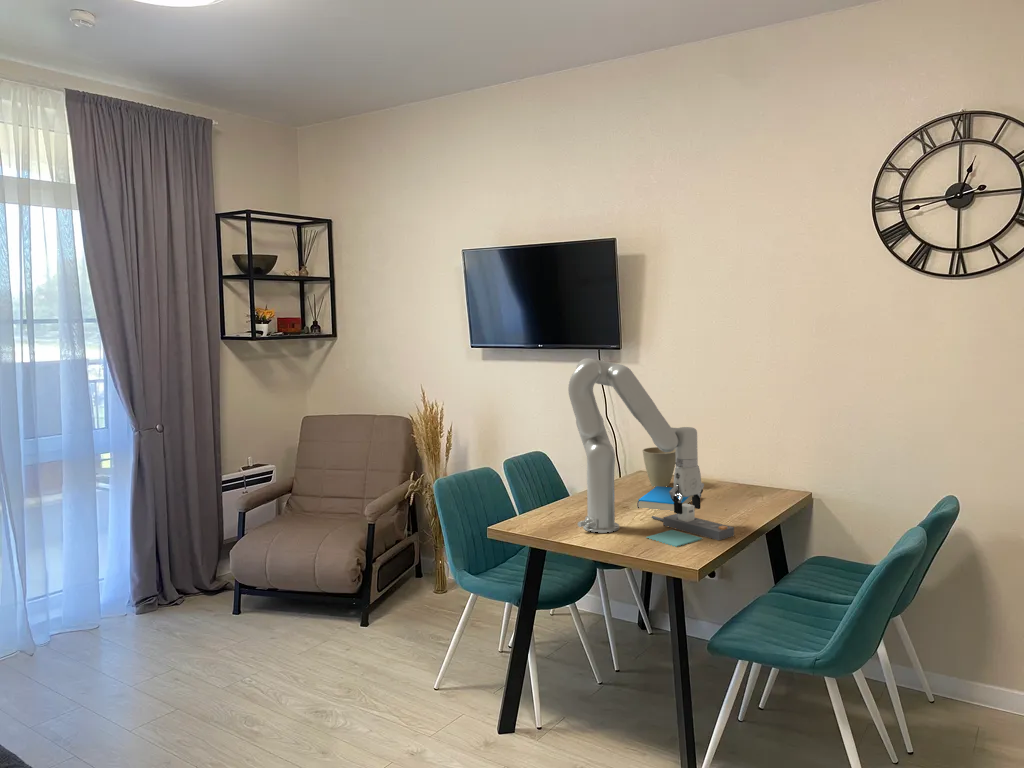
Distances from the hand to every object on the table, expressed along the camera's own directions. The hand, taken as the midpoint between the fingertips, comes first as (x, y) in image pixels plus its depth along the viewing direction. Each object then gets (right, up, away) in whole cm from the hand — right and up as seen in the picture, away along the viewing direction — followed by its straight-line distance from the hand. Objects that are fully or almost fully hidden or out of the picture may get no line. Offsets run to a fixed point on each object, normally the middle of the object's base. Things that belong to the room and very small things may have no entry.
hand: (687, 510), depth 264 cm
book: (0, -4, +35) cm, 36 cm away
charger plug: (0, -6, +1) cm, 6 cm away
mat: (-7, -7, -12) cm, 16 cm away
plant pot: (+3, 0, +65) cm, 65 cm away
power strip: (0, -6, 0) cm, 6 cm away
